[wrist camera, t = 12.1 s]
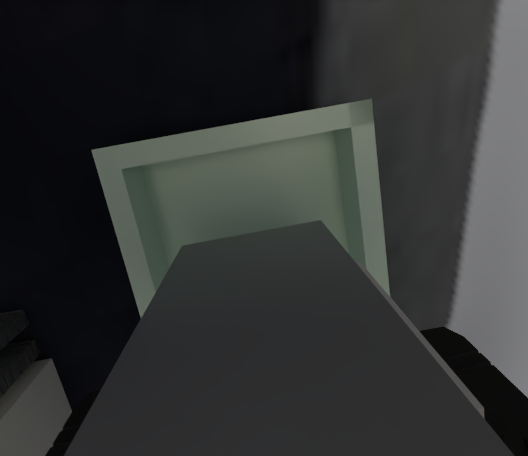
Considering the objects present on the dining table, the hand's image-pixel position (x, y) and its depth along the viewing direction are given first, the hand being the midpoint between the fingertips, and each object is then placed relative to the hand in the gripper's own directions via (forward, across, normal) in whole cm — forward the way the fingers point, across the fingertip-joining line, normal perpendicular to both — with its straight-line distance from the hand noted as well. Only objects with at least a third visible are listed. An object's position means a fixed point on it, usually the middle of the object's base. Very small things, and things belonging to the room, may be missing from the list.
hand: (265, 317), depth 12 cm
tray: (+9, 0, 0) cm, 9 cm away
